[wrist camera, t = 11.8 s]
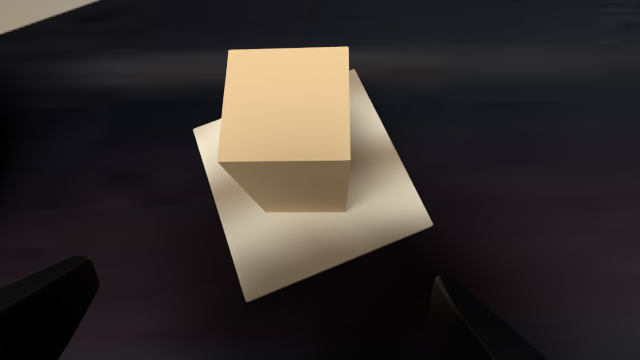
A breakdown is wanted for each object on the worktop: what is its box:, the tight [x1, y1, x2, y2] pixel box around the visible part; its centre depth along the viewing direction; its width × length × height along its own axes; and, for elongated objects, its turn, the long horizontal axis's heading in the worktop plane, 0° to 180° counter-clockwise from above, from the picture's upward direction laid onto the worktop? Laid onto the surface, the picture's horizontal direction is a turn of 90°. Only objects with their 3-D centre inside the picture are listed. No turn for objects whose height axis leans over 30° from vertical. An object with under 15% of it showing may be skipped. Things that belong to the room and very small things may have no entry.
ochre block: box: [217, 47, 351, 213], centre depth 18 cm, size 5×5×9 cm
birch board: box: [193, 69, 433, 302], centre depth 23 cm, size 12×12×1 cm
